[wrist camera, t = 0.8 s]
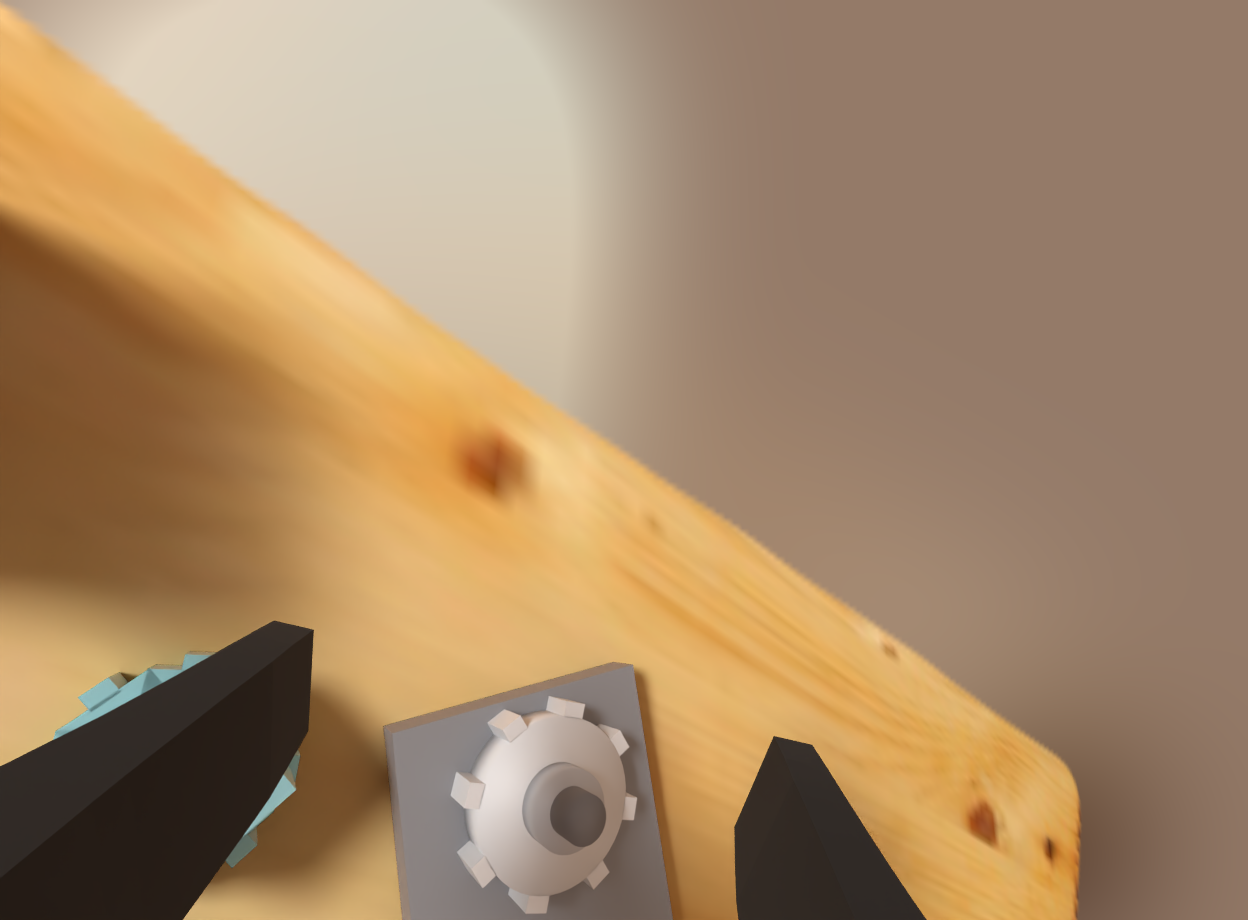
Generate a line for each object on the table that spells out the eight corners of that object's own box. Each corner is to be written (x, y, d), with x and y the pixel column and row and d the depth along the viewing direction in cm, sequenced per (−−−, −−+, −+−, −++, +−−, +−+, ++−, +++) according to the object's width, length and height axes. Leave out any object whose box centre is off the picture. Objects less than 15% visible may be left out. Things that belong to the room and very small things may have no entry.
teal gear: (134, 936, 16) (104, 1021, 13) (-27, 769, 15) (-104, 812, 12) (337, 756, 19) (356, 786, 16) (214, 609, 18) (207, 608, 15)
